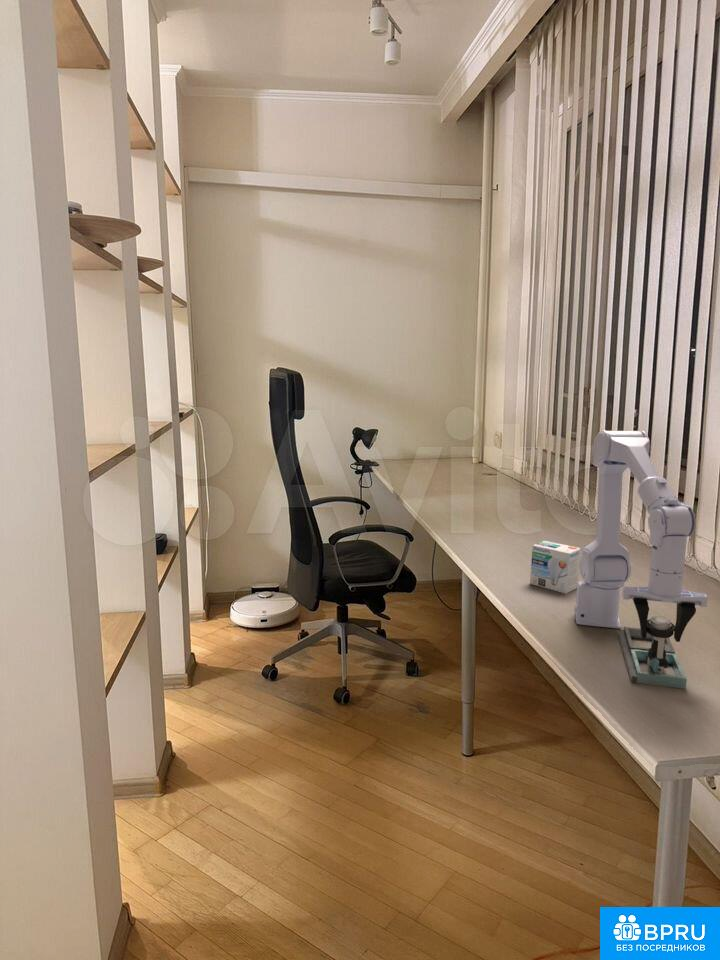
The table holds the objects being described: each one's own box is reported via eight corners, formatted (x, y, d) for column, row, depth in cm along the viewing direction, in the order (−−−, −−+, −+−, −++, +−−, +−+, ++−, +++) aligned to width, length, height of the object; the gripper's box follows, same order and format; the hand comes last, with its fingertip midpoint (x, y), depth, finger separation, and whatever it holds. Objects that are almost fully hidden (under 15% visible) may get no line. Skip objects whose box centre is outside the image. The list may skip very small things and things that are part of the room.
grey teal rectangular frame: (631, 682, 130) (631, 672, 129) (618, 635, 151) (619, 626, 151) (685, 688, 128) (686, 678, 127) (665, 640, 149) (666, 631, 149)
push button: (677, 678, 131) (682, 630, 129) (648, 678, 132) (652, 629, 129) (665, 660, 138) (670, 614, 135) (637, 659, 138) (641, 613, 136)
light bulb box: (528, 584, 183) (531, 544, 181) (541, 578, 188) (544, 539, 186) (566, 594, 176) (569, 553, 174) (578, 587, 181) (581, 547, 179)
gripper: (627, 572, 128) (621, 641, 130) (714, 579, 124) (706, 650, 127) (623, 561, 135) (617, 627, 137) (705, 567, 131) (698, 635, 134)
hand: (659, 637), depth 132 cm, fingers closed on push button, 5 cm apart
